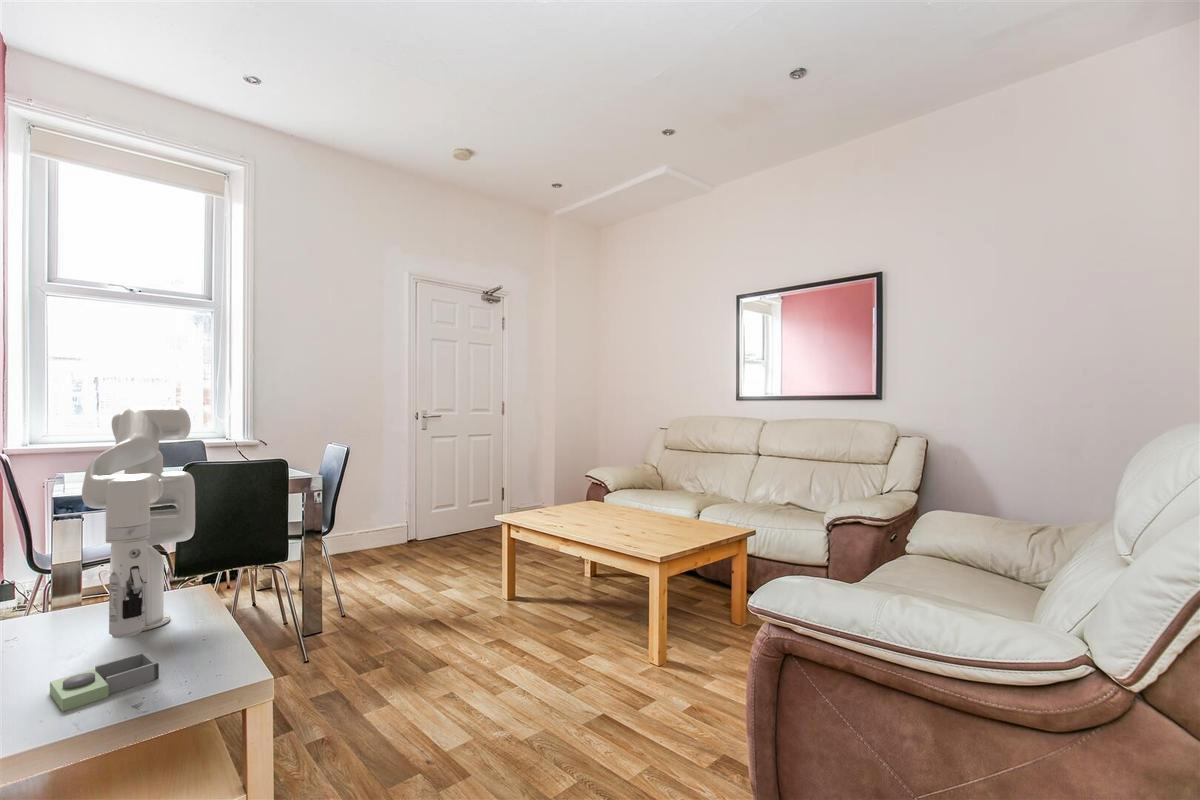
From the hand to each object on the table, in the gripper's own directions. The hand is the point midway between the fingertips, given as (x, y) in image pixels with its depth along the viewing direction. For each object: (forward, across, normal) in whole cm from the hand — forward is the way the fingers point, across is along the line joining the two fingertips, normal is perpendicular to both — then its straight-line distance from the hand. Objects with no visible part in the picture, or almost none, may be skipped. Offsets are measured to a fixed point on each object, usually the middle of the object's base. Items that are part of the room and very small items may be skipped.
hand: (127, 613), depth 122 cm
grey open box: (+15, 0, +3) cm, 15 cm away
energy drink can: (+5, 0, 0) cm, 5 cm away
